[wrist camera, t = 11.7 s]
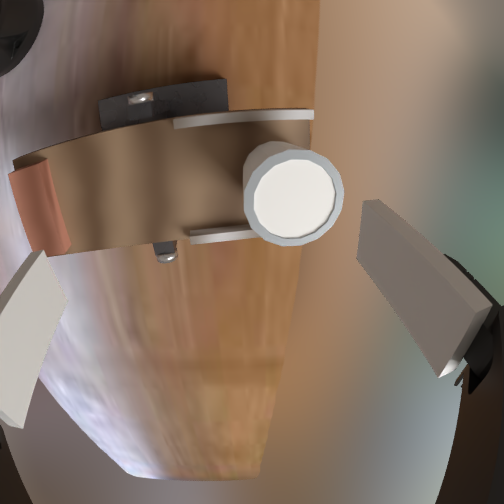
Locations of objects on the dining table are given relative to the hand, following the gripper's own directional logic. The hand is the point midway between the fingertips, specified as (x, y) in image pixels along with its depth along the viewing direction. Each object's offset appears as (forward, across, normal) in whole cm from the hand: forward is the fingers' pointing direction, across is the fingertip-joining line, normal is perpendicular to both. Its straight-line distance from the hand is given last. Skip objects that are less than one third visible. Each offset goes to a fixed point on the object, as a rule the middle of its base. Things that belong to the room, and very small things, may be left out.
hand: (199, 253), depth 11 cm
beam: (+17, -5, -2) cm, 18 cm away
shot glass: (+15, +6, -2) cm, 16 cm away
